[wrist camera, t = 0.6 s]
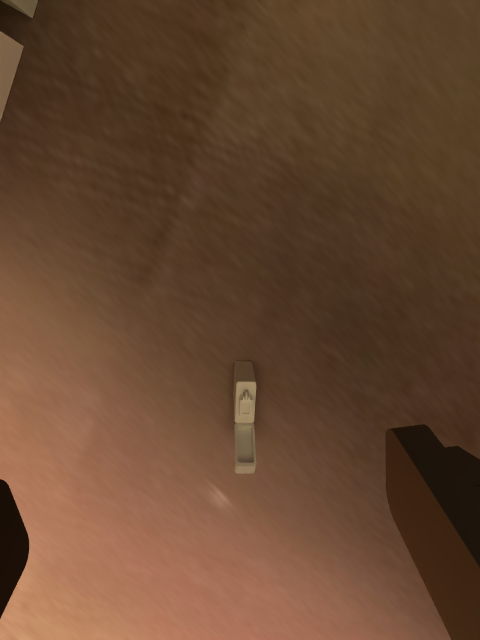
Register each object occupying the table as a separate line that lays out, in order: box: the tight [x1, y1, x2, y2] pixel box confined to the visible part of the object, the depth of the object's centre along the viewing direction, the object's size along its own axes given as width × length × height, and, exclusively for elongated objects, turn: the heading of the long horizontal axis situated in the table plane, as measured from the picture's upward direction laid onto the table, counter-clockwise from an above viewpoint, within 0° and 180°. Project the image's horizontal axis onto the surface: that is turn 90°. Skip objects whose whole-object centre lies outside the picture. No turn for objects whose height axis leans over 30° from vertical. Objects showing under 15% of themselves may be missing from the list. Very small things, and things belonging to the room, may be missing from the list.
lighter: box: [233, 361, 256, 473], centre depth 39 cm, size 7×2×8 cm, turn 178°
